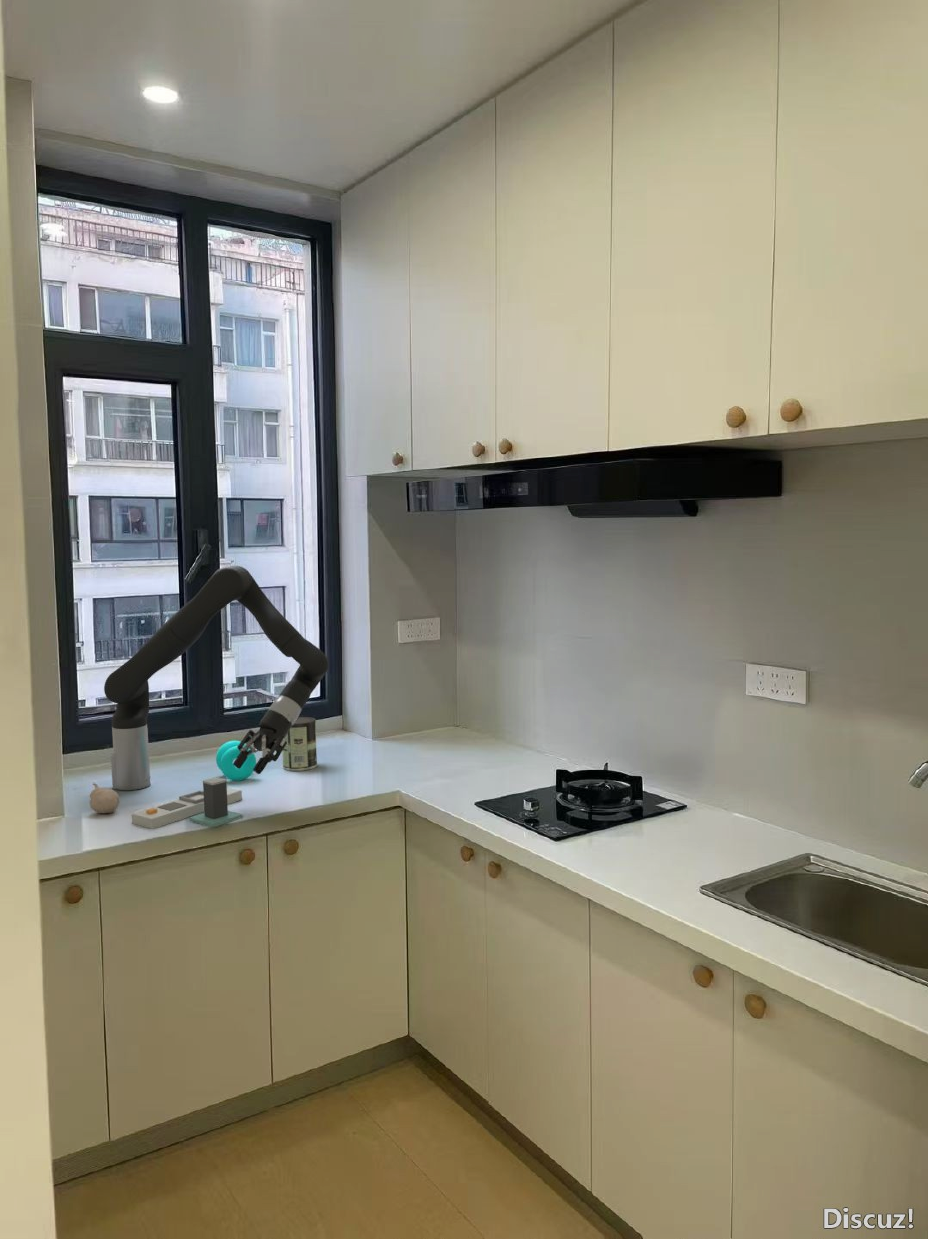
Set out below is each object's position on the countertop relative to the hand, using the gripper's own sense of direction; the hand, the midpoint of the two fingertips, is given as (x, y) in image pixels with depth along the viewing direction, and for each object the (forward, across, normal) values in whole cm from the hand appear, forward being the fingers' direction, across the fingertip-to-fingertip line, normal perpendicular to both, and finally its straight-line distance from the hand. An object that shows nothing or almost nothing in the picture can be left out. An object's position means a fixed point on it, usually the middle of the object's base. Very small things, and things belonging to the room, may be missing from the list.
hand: (246, 769), depth 238 cm
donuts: (-4, -28, +19) cm, 35 cm away
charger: (+13, 0, 0) cm, 13 cm away
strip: (+14, -12, 0) cm, 18 cm away
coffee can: (-17, -24, +32) cm, 44 cm away
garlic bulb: (+25, -27, -10) cm, 38 cm away
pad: (+14, 0, +1) cm, 14 cm away
